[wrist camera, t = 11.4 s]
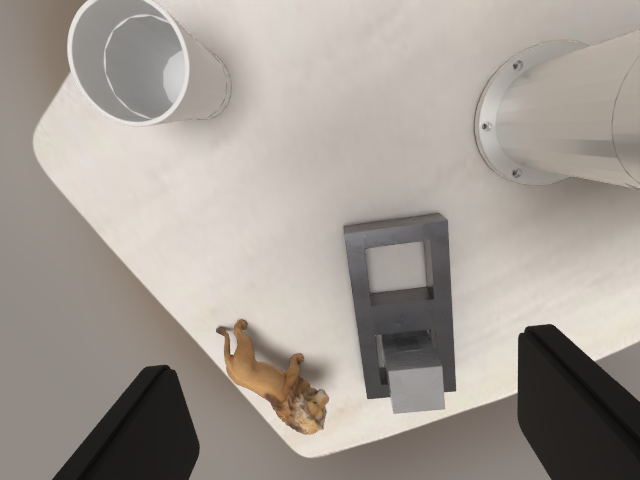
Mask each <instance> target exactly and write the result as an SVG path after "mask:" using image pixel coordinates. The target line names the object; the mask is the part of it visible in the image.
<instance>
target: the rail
mask: <svg viewBox="0 0 640 480" xmlns="http://www.w3.org/2000/svg"><path fill="white" fill-rule="evenodd" d="M344 235H345V243H346V250H347V257H348V264H349V271H350V278H351V286H352V293H353V300H354V307H355V314H356V321H357V328H358V336H359V343H360V350H361V357H362V364H363V371H364V379H365V386H366V393H367V399H374V398H386V397H390V393H389V388H388V383H387V378H386V373H385V368H379V365H378V357H377V349H376V341H375V335H383V334H393V333H402V332H412V331H421V330H430V334H431V342H432V344H433V347H434V349H435V351H436V353H437V356H438V358H439V360H440V362H441V365H442V371H443V386H444V392H453V391H456V378H455V358H454V338H453V318H452V298H451V278H450V258H449V238H448V220H447V219H445V218H444V217H443V216H442V215H440V214H439V213H438V214H430V215H423V216H416V217H408V218H401V219H394V220H386V221H379V222H371V223H364V224H357V225H349V226H344ZM418 241H424V250H425V264H426V278H427V287H423V288H415V289H406V290H397V291H389V292H380V293H372V294H370V292H369V284H368V276H367V268H366V260H365V252H364V248H371V247H379V246H387V245H395V244H402V243H410V242H418Z"/></svg>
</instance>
